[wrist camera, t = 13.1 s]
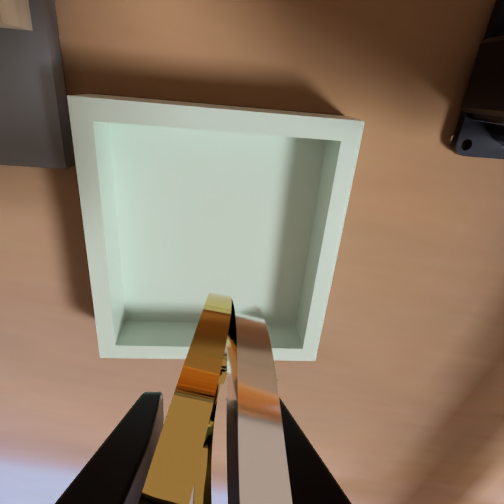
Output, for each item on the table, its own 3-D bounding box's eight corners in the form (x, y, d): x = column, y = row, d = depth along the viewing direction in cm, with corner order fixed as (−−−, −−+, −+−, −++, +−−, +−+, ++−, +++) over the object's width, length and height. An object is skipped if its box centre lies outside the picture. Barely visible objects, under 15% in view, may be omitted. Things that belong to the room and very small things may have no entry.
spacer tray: (344, 116, 16) (364, 121, 14) (305, 331, 21) (315, 360, 19) (90, 93, 15) (67, 95, 13) (114, 326, 20) (100, 357, 18)
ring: (172, 223, 8) (-133, 1117, 1) (300, 249, 9) (636, 951, 2) (138, 426, 11) (-12, 1051, 4) (237, 436, 12) (264, 998, 5)
